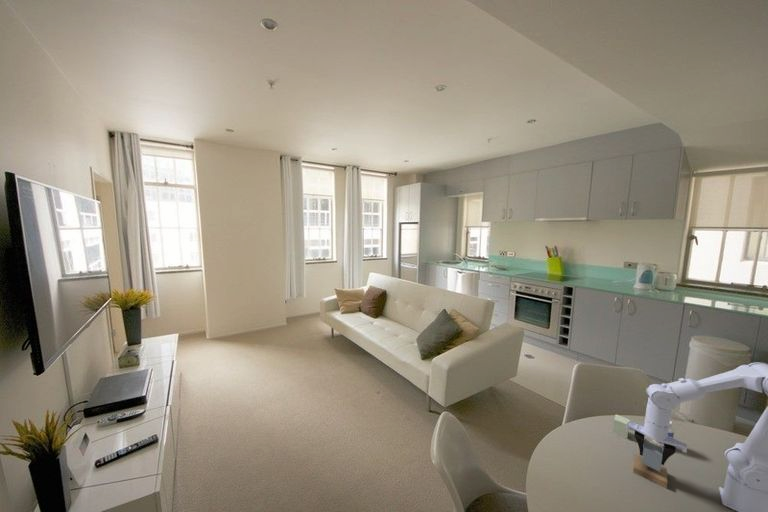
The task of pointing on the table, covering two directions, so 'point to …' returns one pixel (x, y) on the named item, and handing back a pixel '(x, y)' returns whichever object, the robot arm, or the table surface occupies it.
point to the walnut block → (650, 472)
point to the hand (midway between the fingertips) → (651, 458)
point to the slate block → (652, 455)
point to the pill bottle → (670, 433)
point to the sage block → (620, 426)
